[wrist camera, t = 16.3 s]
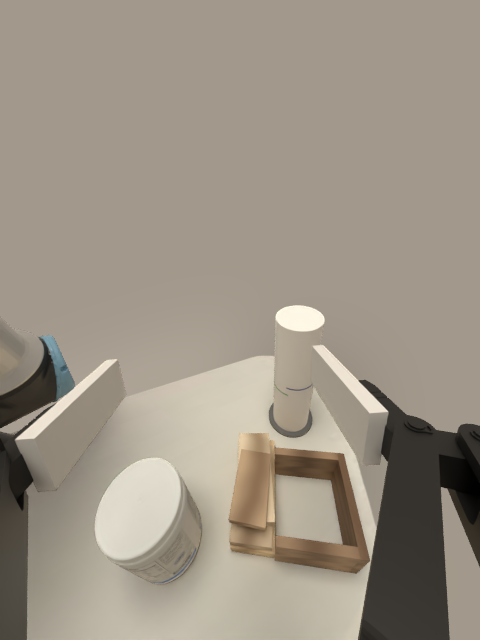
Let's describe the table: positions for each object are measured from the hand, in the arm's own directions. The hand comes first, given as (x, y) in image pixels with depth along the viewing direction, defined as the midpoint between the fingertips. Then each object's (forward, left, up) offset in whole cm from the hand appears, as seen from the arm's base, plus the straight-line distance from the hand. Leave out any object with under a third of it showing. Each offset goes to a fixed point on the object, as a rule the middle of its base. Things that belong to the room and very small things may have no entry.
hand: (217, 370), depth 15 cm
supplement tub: (-9, -7, -34) cm, 35 cm away
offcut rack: (+4, +7, -33) cm, 34 cm away
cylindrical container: (-1, +20, -33) cm, 39 cm away
